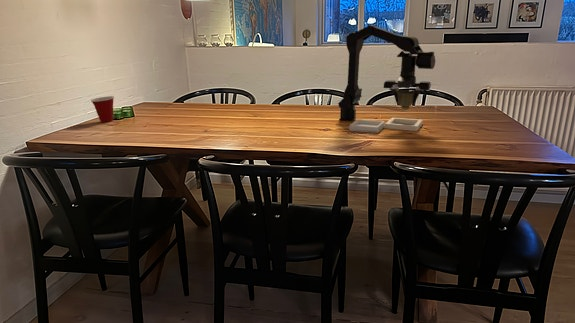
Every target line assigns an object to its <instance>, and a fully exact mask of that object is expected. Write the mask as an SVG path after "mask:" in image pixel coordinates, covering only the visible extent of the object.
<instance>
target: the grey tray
mask: <svg viewBox="0 0 575 323" xmlns="http://www.w3.org/2000/svg"><path fill="white" fill-rule="evenodd" d="M385 123H386V121H385V120H373V119H359V118H358V119H356V120H355V121H354V122H353V121H352V123H351V124H349V128H348V129H349V131H350V132H360V133H372V134H379V132H381V131H382V130H383V129H385Z"/></svg>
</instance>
